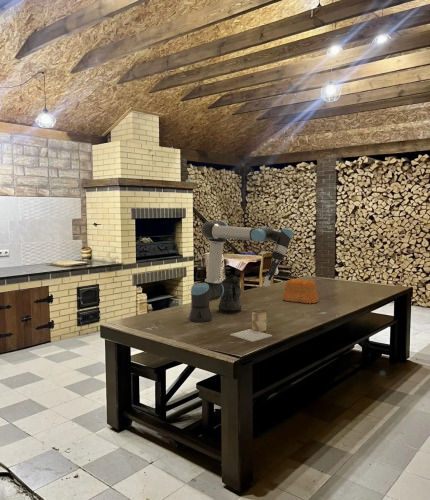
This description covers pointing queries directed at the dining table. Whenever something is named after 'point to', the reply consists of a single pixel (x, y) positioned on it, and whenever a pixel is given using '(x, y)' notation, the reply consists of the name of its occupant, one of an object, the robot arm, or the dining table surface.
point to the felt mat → (251, 335)
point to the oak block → (259, 320)
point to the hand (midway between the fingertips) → (265, 286)
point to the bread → (301, 291)
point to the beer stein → (230, 296)
